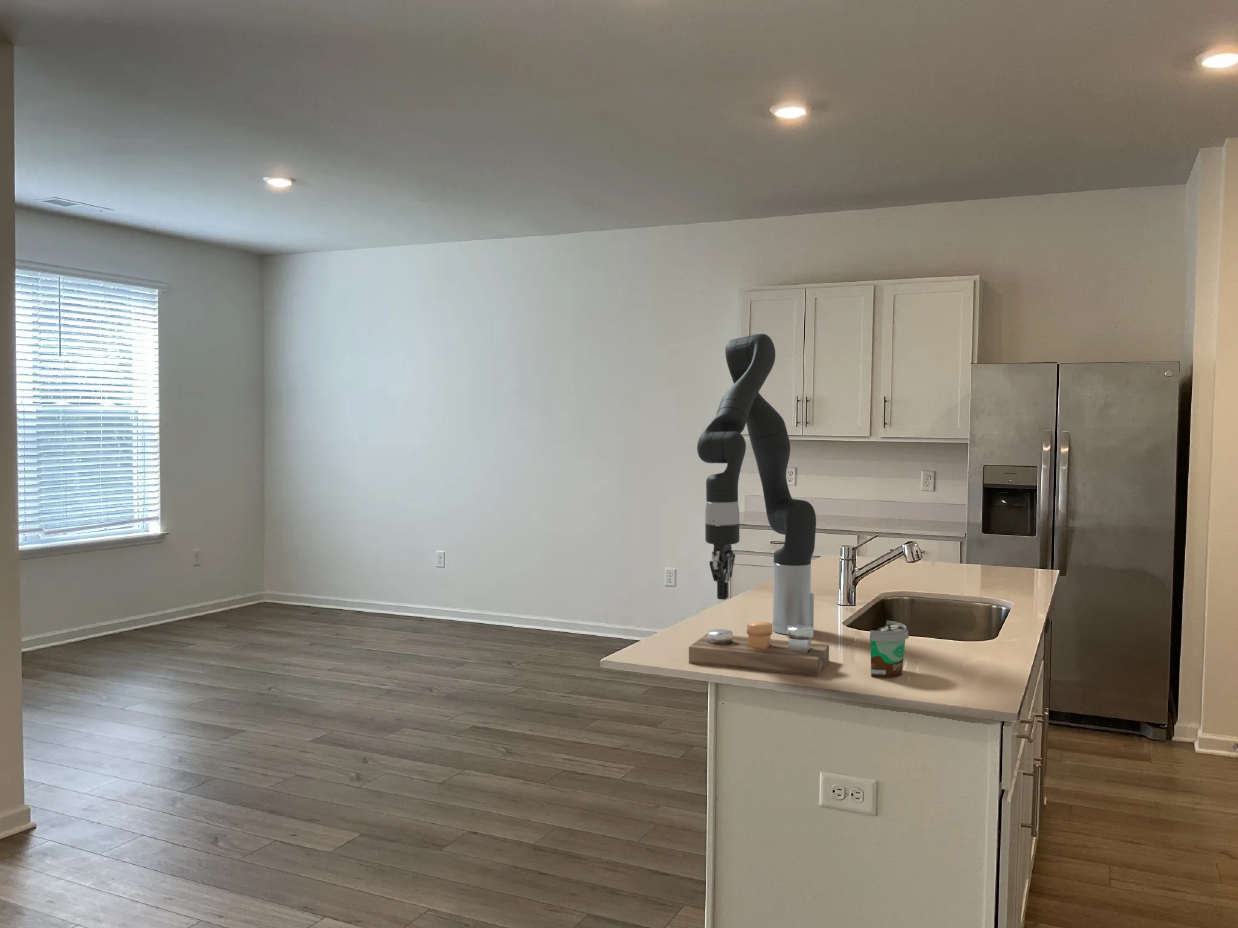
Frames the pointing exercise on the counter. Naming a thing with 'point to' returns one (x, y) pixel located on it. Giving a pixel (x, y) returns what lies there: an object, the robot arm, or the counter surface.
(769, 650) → the knob mount
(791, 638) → the knob
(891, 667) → the food container
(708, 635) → the knob
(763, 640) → the knob mid
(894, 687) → the counter surface
